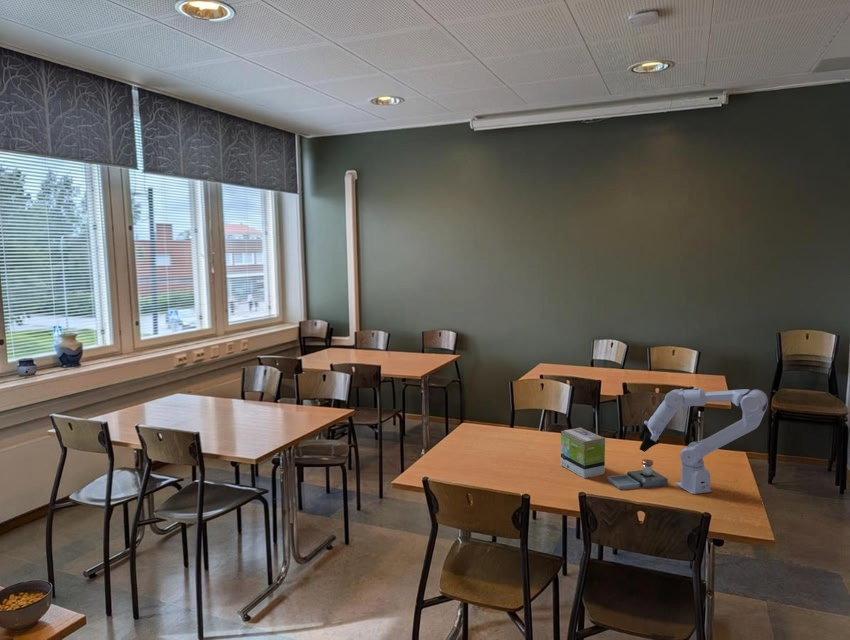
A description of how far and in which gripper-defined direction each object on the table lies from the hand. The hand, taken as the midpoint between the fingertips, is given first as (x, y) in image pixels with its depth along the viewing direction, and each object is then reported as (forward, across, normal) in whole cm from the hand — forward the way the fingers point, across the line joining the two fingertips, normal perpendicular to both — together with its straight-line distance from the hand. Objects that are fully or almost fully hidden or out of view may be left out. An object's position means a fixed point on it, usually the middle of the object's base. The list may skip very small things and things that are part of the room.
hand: (641, 444), depth 219 cm
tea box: (+21, +3, -13) cm, 25 cm away
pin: (+8, +8, +7) cm, 13 cm away
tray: (+11, +12, -1) cm, 17 cm away
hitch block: (+8, +8, +7) cm, 13 cm away
